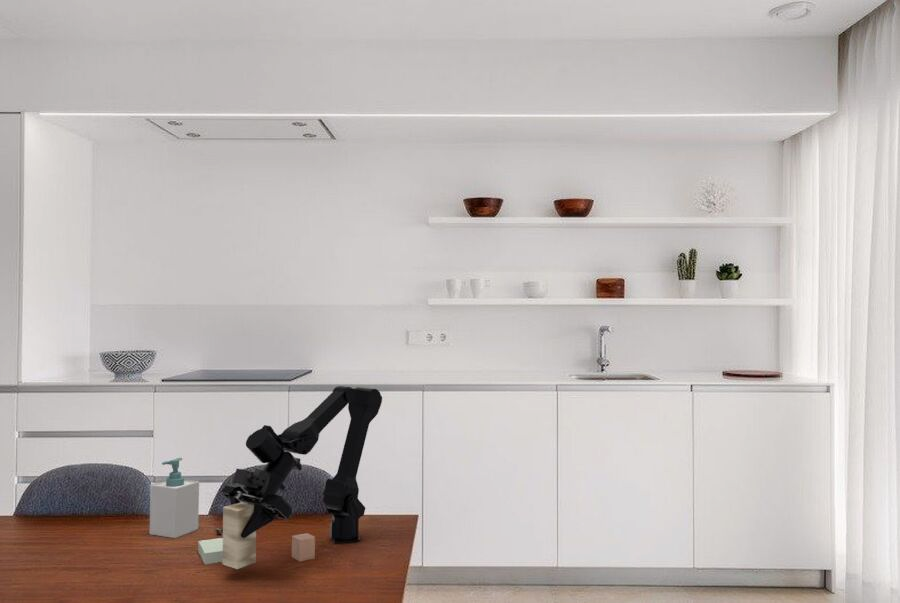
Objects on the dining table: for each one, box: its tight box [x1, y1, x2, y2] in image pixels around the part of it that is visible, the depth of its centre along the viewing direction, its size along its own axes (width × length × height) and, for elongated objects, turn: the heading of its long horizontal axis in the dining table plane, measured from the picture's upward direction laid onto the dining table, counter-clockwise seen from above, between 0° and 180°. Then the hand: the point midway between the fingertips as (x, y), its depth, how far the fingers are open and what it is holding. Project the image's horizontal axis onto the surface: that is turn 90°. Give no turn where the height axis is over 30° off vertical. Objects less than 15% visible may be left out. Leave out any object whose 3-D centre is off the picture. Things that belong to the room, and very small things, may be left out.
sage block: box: [197, 537, 223, 565], centre depth 174 cm, size 10×10×3 cm
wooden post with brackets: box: [215, 525, 223, 536], centre depth 193 cm, size 2×8×4 cm, turn 143°
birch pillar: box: [222, 502, 257, 570], centre depth 161 cm, size 5×5×12 cm
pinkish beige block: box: [291, 532, 316, 562], centre depth 173 cm, size 4×4×5 cm
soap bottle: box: [149, 457, 200, 539], centre depth 192 cm, size 9×9×19 cm
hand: (234, 534), depth 160 cm, fingers closed on birch pillar, 5 cm apart
